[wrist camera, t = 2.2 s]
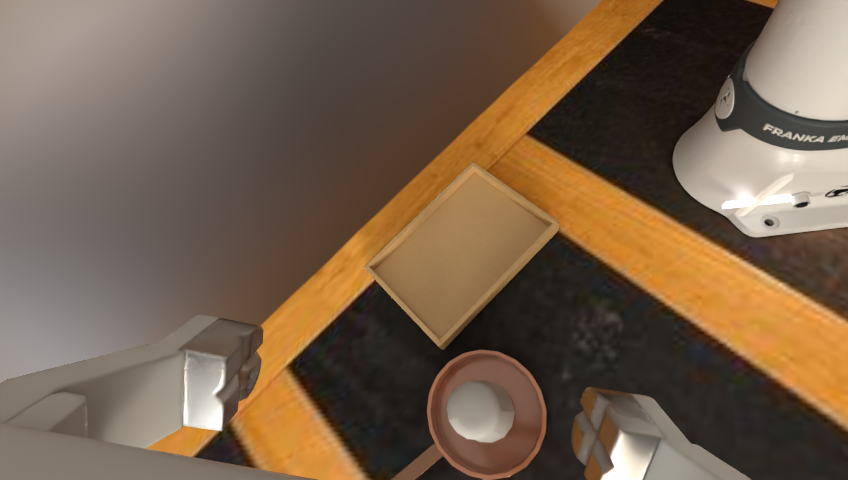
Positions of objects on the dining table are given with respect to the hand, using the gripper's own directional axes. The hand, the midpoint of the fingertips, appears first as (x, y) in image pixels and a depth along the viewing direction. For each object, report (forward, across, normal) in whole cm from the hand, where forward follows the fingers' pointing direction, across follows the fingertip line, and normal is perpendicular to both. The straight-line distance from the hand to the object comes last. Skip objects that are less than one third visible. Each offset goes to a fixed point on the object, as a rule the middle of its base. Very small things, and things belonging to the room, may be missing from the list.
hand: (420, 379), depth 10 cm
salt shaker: (+27, -10, +21) cm, 36 cm away
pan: (+28, -10, +21) cm, 36 cm away
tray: (+39, -5, +7) cm, 40 cm away
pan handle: (+23, -2, +28) cm, 36 cm away
